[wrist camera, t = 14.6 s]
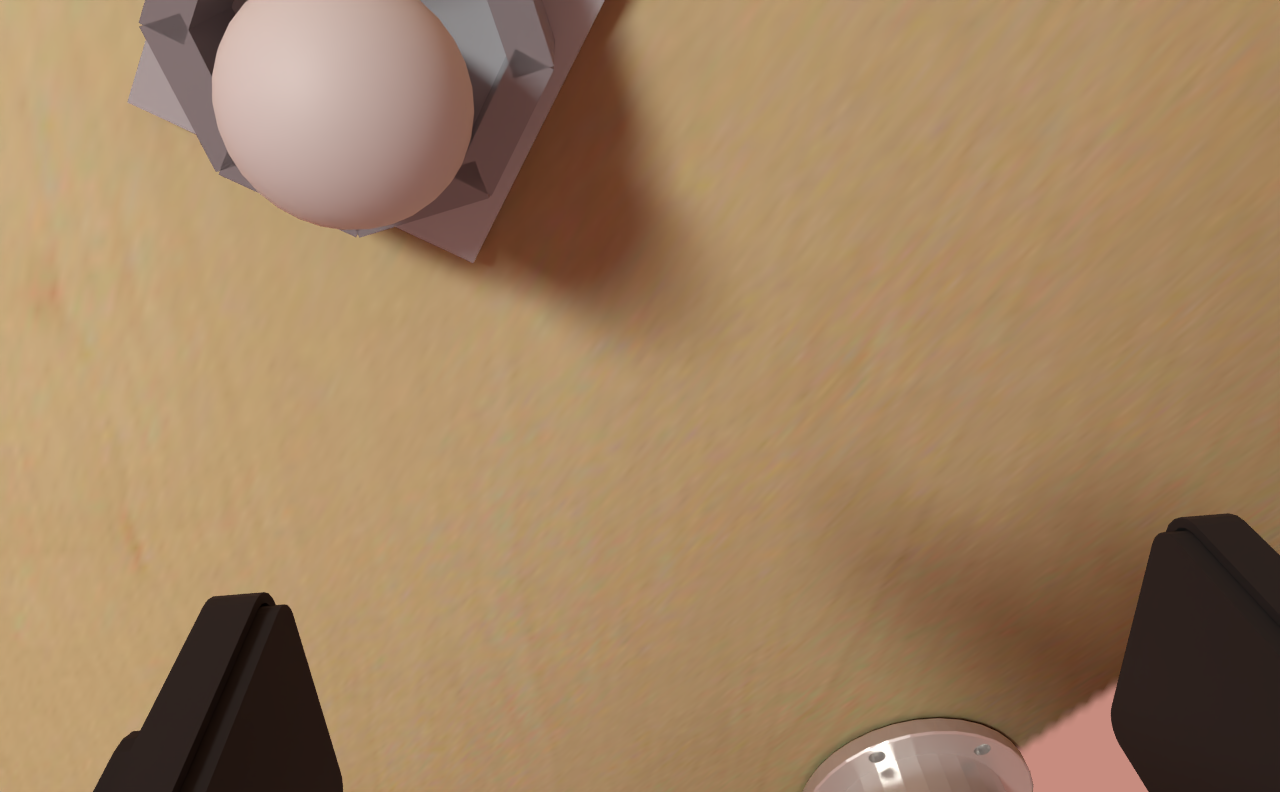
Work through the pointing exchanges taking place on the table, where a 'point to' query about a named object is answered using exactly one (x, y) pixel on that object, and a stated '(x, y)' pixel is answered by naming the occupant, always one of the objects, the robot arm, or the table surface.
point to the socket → (497, 66)
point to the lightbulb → (343, 107)
